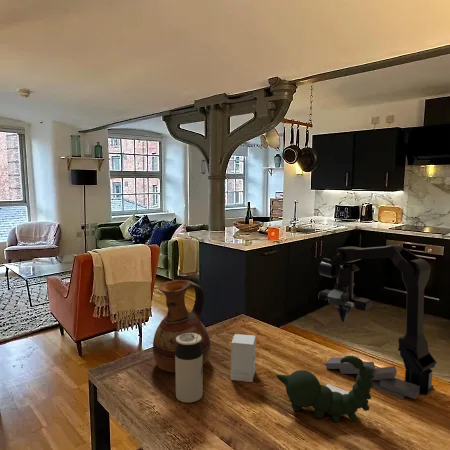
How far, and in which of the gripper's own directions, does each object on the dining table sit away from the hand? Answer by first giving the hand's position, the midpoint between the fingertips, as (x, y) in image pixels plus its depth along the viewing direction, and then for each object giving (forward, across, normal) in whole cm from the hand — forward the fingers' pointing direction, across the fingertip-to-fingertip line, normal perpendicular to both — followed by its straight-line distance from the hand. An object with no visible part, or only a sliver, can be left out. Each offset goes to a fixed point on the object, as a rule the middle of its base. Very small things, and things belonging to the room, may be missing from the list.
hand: (343, 321), depth 133 cm
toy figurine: (+12, +14, -37) cm, 42 cm away
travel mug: (+12, -17, -59) cm, 62 cm away
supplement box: (+12, -14, -39) cm, 43 cm away
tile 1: (+11, +2, -12) cm, 17 cm away
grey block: (+10, +20, -11) cm, 25 cm away
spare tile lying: (+12, +14, -27) cm, 33 cm away
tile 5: (+12, +17, -12) cm, 24 cm away
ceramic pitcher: (+12, -34, -49) cm, 61 cm away
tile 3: (+11, +14, -11) cm, 21 cm away
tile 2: (+11, +7, -12) cm, 18 cm away
